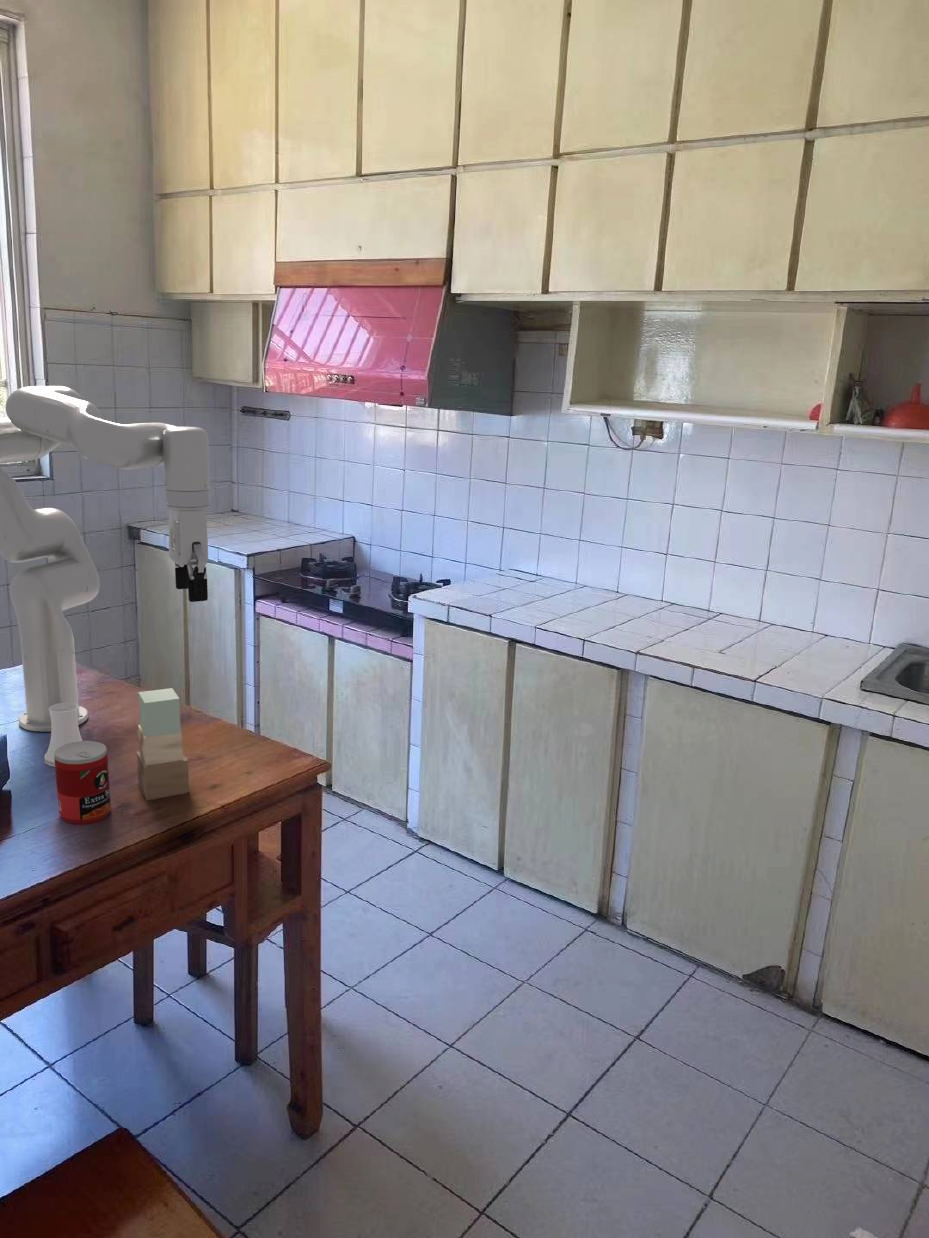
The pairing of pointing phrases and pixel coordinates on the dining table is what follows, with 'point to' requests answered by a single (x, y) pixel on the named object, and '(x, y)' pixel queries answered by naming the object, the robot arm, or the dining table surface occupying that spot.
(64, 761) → the canned food
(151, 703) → the sage block
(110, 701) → the dining table surface
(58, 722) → the vase
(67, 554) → the robot arm
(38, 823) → the dining table surface
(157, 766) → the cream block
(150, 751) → the beech block
